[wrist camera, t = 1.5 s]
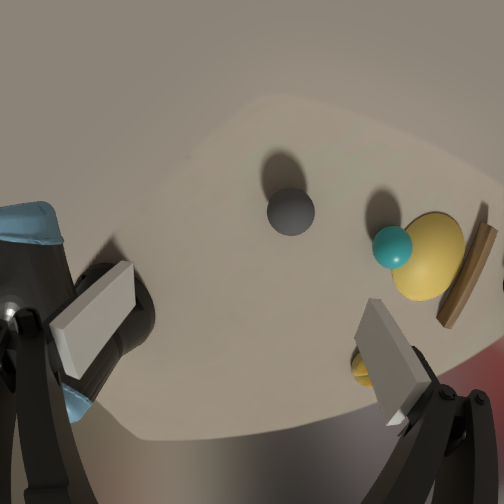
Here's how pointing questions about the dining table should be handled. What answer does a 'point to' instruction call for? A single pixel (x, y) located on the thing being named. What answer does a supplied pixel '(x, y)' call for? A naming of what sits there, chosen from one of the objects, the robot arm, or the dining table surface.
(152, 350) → the dining table surface
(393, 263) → the ball
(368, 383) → the bread roll
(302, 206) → the ball
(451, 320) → the wall
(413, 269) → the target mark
